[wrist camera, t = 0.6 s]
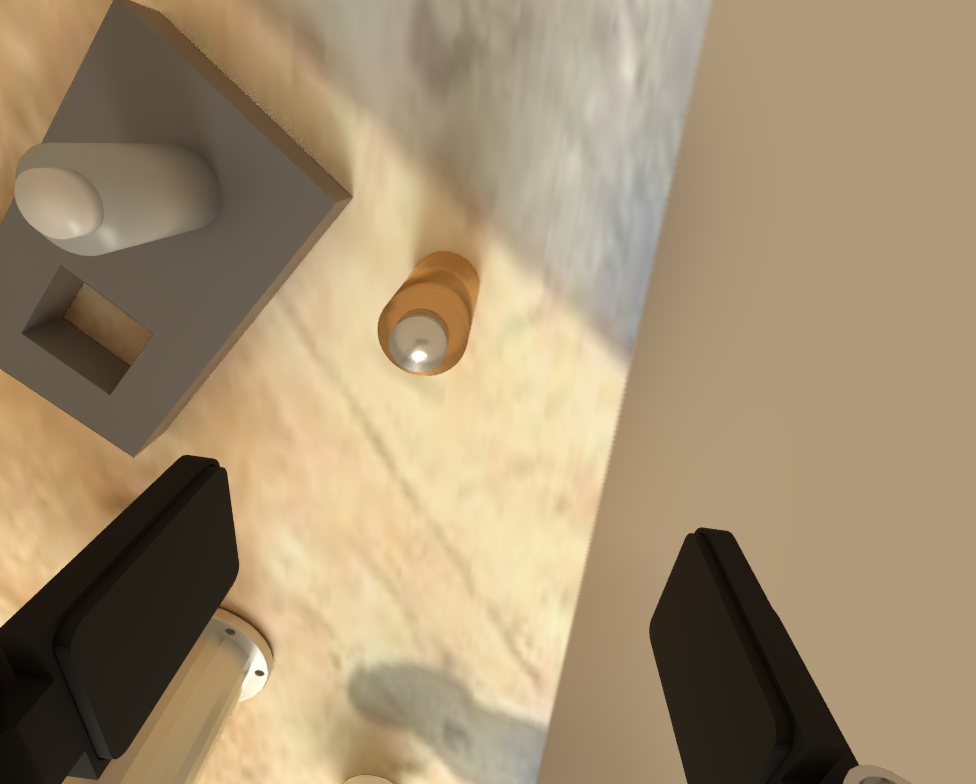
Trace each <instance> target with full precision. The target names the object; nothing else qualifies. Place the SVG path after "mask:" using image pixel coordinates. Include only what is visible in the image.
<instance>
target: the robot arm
mask: <svg viewBox="0 0 976 784" xmlns="http://www.w3.org/2000/svg"><path fill="white" fill-rule="evenodd" d="M238 570H239V559H238V551H237V544H236V536H235V529H234V521H233V514H232V506H231V499H230V491H229V484H228V476H227V471H226V469H225V468H223V467H220V465H219V462H218V461H217V460H216V459H212V458H205V457H198V456H191V455H184V456H182V457H180V458H179V459H178V460H177V461H176V462H175V463H174V464H173V465H172V466H170V467H169V468H168V469H167V470H166V471H165V472H164V473H163V474H162V475H161V476H160V477H159V478H158V479H157V480H156V481H155V482H154V483H153V484H151V485H150V486H149V487H148V488H147V489H146V490H145V491H144V492H143V493H142V494H141V495H140V496H139V497H138V498H137V499H136V500H135V501H134V502H133V503H131V504H130V505H129V506H128V507H127V508H126V509H125V510H124V511H123V512H122V513H121V514H120V515H119V516H118V517H117V518H116V519H115V520H114V521H112V522H111V523H110V524H109V525H108V526H107V527H106V528H105V529H104V530H103V531H102V532H101V533H100V534H99V535H98V536H97V537H96V538H95V539H94V540H92V541H91V542H90V543H89V544H88V545H87V546H86V547H85V548H84V549H83V550H82V551H81V552H80V553H79V554H78V555H77V556H76V557H75V558H73V559H72V560H71V561H70V562H69V563H68V564H67V565H66V566H65V567H64V568H63V569H62V570H61V571H60V572H59V573H58V574H57V575H56V576H55V577H53V578H52V579H51V580H50V581H49V582H48V583H47V584H46V585H45V586H44V587H43V588H42V589H41V590H40V591H39V592H38V593H37V594H36V595H34V596H33V597H32V598H31V599H30V600H29V601H28V602H27V603H26V604H25V605H24V606H23V607H22V608H21V609H20V610H19V611H18V612H17V613H16V614H14V615H13V616H12V617H11V618H10V619H9V620H8V621H7V622H6V623H5V624H4V625H3V626H2V627H1V628H0V784H198V782H199V780H200V778H201V776H202V774H203V771H204V769H205V767H206V765H207V763H208V761H209V759H210V757H211V755H212V753H213V751H214V749H215V747H216V745H217V743H218V741H219V739H220V737H221V735H222V733H223V731H224V729H225V727H226V725H227V723H228V721H229V719H230V717H231V715H232V713H233V711H234V709H235V707H236V704H237V702H240V701H243V700H246V699H249V698H251V697H252V696H254V695H256V694H257V693H259V692H260V691H261V690H262V689H263V688H264V686H265V684H266V682H267V681H268V678H269V676H270V674H271V671H272V668H273V658H272V654H271V650H270V648H269V646H268V645H267V643H266V641H265V640H264V638H263V637H262V636H261V635H260V633H259V632H258V631H257V630H256V629H254V628H253V627H252V626H251V625H250V624H249V623H247V622H246V621H244V620H243V619H241V618H239V617H238V616H236V615H234V614H232V613H230V612H228V611H226V610H223V609H220V608H218V607H219V605H220V604H221V602H222V601H223V599H224V598H225V596H226V594H227V593H228V591H229V590H230V588H231V587H232V585H233V583H234V582H235V580H236V577H237V574H238ZM649 634H650V641H651V645H652V649H653V652H654V657H655V660H656V664H657V668H658V672H659V676H660V679H661V683H662V687H663V691H664V695H665V699H666V703H667V706H668V710H669V714H670V718H671V721H672V726H673V729H674V733H675V737H676V741H677V745H678V749H679V752H680V756H681V760H682V764H683V768H684V772H685V776H686V779H687V783H688V784H911V783H910V782H908V781H907V780H905V779H903V778H902V777H900V776H898V775H897V774H895V773H893V772H892V771H889V770H886V769H883V768H880V767H878V766H874V765H859V764H858V762H857V760H856V759H855V757H854V755H853V753H852V751H851V749H850V747H849V746H848V744H847V742H846V740H845V738H844V736H843V735H842V733H841V731H840V729H839V727H838V725H837V723H836V722H835V720H834V718H833V716H832V714H831V712H830V711H829V709H828V707H827V705H826V703H825V701H824V700H823V698H822V696H821V694H820V692H819V690H818V689H817V686H816V685H815V683H814V681H813V679H812V677H811V675H810V674H809V672H808V670H807V668H806V666H805V664H804V662H803V660H802V659H801V657H800V655H799V653H798V651H797V649H796V648H795V646H794V644H793V642H792V640H791V638H790V636H789V635H788V633H787V631H786V629H785V627H784V625H783V624H782V622H781V620H780V618H779V616H778V615H777V614H776V612H775V611H774V610H773V608H772V606H771V605H770V603H769V601H768V599H767V597H766V595H765V593H764V591H763V590H762V588H761V586H760V584H759V582H758V580H757V579H756V577H755V575H754V573H753V571H752V569H751V567H750V565H749V564H748V562H747V560H746V558H745V556H744V554H743V553H742V550H741V549H740V547H739V545H738V543H737V541H736V539H735V538H734V536H733V535H732V533H730V532H729V531H724V530H717V529H710V528H698V529H697V530H696V531H695V533H694V534H693V533H689V534H688V535H687V536H686V538H685V540H684V543H683V545H682V547H681V550H680V552H679V555H678V557H677V560H676V562H675V564H674V566H673V569H672V571H671V574H670V576H669V578H668V581H667V583H666V586H665V588H664V590H663V593H662V595H661V598H660V600H659V603H658V605H657V607H656V610H655V612H654V614H653V617H652V619H651V622H650V629H649Z"/></svg>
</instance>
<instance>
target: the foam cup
mask: <svg viewBox="0 0 976 784" xmlns="http://www.w3.org/2000/svg"><path fill="white" fill-rule="evenodd" d="M344 784H393V783H392V782H390V781H388V780H387V779H385V778H381V777H377V776H373V775H359V776H355V777H352V778H349V779H348V780H347V781H346V782H345V783H344Z"/></svg>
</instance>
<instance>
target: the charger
mask: <svg viewBox="0 0 976 784" xmlns="http://www.w3.org/2000/svg"><path fill="white" fill-rule="evenodd" d="M14 195H15V197H14V199H13V201H12V203H11V205H10V207H9V209H8V211H7V213H6V215H5V217H4V219H3V221H2V223H1V225H0V369H2V370H3V371H5V372H6V373H8V374H9V375H11V376H12V377H14V378H15V379H17V380H18V381H20V382H21V383H23V384H24V385H26V386H27V387H29V388H30V389H32V390H33V391H35V392H36V393H38V394H39V395H41V396H42V397H44V398H45V399H47V400H48V401H50V402H51V403H53V404H54V405H56V406H57V407H59V408H60V409H62V410H63V411H65V412H66V413H68V414H69V415H71V416H72V417H74V418H75V419H77V420H78V421H80V422H81V423H83V424H84V425H86V426H87V427H89V428H90V429H92V430H93V431H95V432H96V433H98V434H99V435H101V436H102V437H104V438H105V439H107V440H108V441H110V442H111V443H113V444H114V445H116V446H117V447H119V448H120V449H122V450H123V451H125V452H126V453H128V454H129V455H131V456H132V457H135V456H136V455H137V454H139V453H140V452H141V451H142V450H143V449H145V448H146V447H147V446H148V445H149V444H151V443H152V442H153V441H154V440H156V439H157V438H158V437H159V436H160V435H162V434H163V432H164V431H165V430H166V429H167V428H168V426H169V425H170V424H171V423H172V421H173V420H174V419H175V418H176V416H177V415H178V414H179V413H180V411H181V410H182V409H183V408H184V406H185V405H186V404H187V403H188V401H189V400H190V399H191V398H192V397H193V395H194V394H195V393H196V392H197V390H198V389H199V388H200V387H201V385H202V384H203V383H204V382H205V380H206V379H207V378H208V377H209V375H210V374H211V373H212V372H213V370H214V369H215V368H216V367H217V366H218V364H219V363H220V362H221V361H222V359H223V358H224V357H225V356H226V354H227V353H228V352H229V351H230V349H231V348H232V347H233V346H234V344H235V343H236V342H237V341H238V339H239V338H240V337H241V336H242V335H243V333H244V332H245V331H246V330H247V328H248V327H249V326H250V325H251V323H252V322H253V321H254V320H255V318H256V317H257V316H258V315H259V313H260V312H261V311H262V310H263V308H264V307H265V306H266V305H267V303H268V302H269V301H270V300H271V299H272V297H273V296H274V295H275V294H276V292H277V291H278V290H279V289H280V287H281V286H282V285H283V284H284V282H285V281H286V280H287V279H288V277H289V276H290V275H291V274H292V272H293V271H294V270H295V269H296V268H297V266H298V265H299V264H300V263H301V261H302V260H303V259H304V258H305V256H306V255H307V254H308V253H309V251H310V250H311V249H312V248H313V246H314V245H315V244H316V243H317V241H318V240H319V239H320V238H321V237H322V235H323V234H324V233H325V232H326V230H327V229H328V228H329V227H330V225H331V224H332V223H333V222H334V220H335V219H336V218H337V217H338V215H339V214H340V213H341V212H342V210H343V209H344V208H345V207H346V206H347V204H348V203H349V202H350V201H351V199H352V198H353V197H352V196H351V195H350V194H349V193H348V192H347V191H346V190H345V189H344V188H343V187H342V186H341V185H340V184H339V183H338V182H337V181H335V180H334V179H333V178H332V177H331V176H330V175H329V174H328V173H327V172H326V171H325V170H324V169H323V168H322V167H321V166H320V165H319V164H318V163H317V162H316V161H315V160H314V159H313V158H311V157H310V156H309V155H308V154H307V153H306V152H305V151H304V150H303V149H302V148H301V147H300V146H299V145H298V144H297V143H296V142H295V141H294V140H293V139H292V138H291V137H290V136H289V135H288V134H286V133H285V132H284V131H283V130H282V129H281V128H280V127H279V126H278V125H277V124H276V123H275V122H274V121H273V120H272V119H271V118H270V117H269V116H268V115H267V114H266V113H265V112H264V111H262V110H261V109H260V108H259V107H258V106H257V105H256V104H255V103H254V102H253V101H252V100H251V99H250V98H249V97H248V96H247V95H246V94H245V93H244V92H243V91H242V90H241V89H240V88H238V87H237V86H236V85H235V84H234V83H233V82H232V81H231V80H230V79H229V78H228V77H227V76H226V75H225V74H224V73H223V72H222V71H221V70H220V69H219V68H218V67H217V66H216V65H214V64H213V63H212V62H211V61H210V60H209V59H208V58H207V57H206V56H205V55H204V54H203V53H202V52H201V51H200V50H199V49H198V48H197V47H196V46H195V45H194V44H193V43H192V42H190V41H189V40H188V39H187V38H186V37H185V36H184V35H183V34H182V33H181V32H180V31H179V30H178V29H177V28H176V27H175V26H174V25H173V24H172V23H171V22H170V21H169V20H168V19H166V18H165V17H164V16H163V15H162V14H161V13H160V12H159V11H156V10H153V9H151V8H148V7H146V6H143V5H140V4H138V3H135V2H132V1H130V0H113V2H112V4H111V6H110V8H109V10H108V12H107V14H106V16H105V18H104V20H103V22H102V24H101V26H100V28H99V30H98V32H97V34H96V36H95V38H94V40H93V42H92V44H91V46H90V48H89V50H88V52H87V54H86V56H85V58H84V60H83V62H82V64H81V66H80V68H79V70H78V72H77V74H76V76H75V78H74V80H73V82H72V84H71V86H70V88H69V90H68V92H67V94H66V96H65V98H64V100H63V102H62V104H61V106H60V108H59V110H58V111H57V113H56V115H55V117H54V119H53V121H52V123H51V125H50V127H49V129H48V131H47V133H46V135H45V137H44V139H43V141H42V143H41V144H39V145H36V146H34V147H32V148H30V149H29V150H28V151H26V153H25V154H24V155H23V156H22V158H21V159H20V161H19V163H18V166H17V170H16V182H15V186H14ZM84 282H85V283H86V284H87V285H89V286H90V287H91V288H93V289H94V290H95V291H97V292H98V293H99V294H101V295H102V296H103V297H105V298H106V299H107V300H109V301H110V302H111V303H113V304H114V305H115V306H117V307H118V308H119V309H121V310H122V311H123V312H125V313H126V314H127V315H128V316H130V317H131V318H132V319H134V320H135V321H136V322H138V323H139V324H140V325H142V326H143V327H144V328H146V329H147V330H148V331H150V332H151V333H152V334H154V335H153V336H152V338H151V339H150V340H149V342H148V343H147V345H146V346H145V347H144V349H143V350H142V351H141V353H140V354H139V356H138V357H137V358H136V360H135V361H134V363H133V364H132V365H131V367H130V366H129V365H128V364H126V363H125V362H124V361H122V360H121V359H119V358H118V357H117V356H115V355H114V354H112V353H111V352H110V351H108V350H107V349H106V348H104V347H103V346H101V345H100V344H99V343H97V342H96V341H94V340H93V339H92V338H90V337H89V336H88V335H86V334H85V333H83V332H82V331H81V330H79V329H78V328H76V327H75V326H74V325H72V324H71V323H70V322H68V321H67V320H65V319H64V318H63V316H64V314H65V312H66V311H67V309H68V308H69V306H70V304H71V303H72V301H73V299H74V298H75V296H76V295H77V293H78V291H79V290H80V288H81V286H82V285H83V283H84Z"/></svg>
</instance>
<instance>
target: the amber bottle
mask: <svg viewBox="0 0 976 784" xmlns="http://www.w3.org/2000/svg"><path fill="white" fill-rule="evenodd" d="M478 293H479V280H478V276H477V273H476V271H475V269H474V268H473V266H472V265H471V264H470V263H469V262H468V261H467V260H466V259H465V258H463V257H462V256H460V255H458V254H455V253H451V252H437V253H434V254H431V255H429V256H427V257H426V258H424V259H423V260H422V261H421V262H420V263H419V264H418V266H417V267H416V268H415V269H414V271H413V272H412V273H411V275H410V276H409V277H408V278H407V280H406V281H405V282H404V283H403V285H402V286H401V287H400V288H399V290H398V291H397V292H396V294H395V295H394V296H393V297H392V299H391V300H390V301H389V302H388V304H387V305H386V306H385V307H384V309H383V311H382V313H381V315H380V318H379V322H378V338H379V342H380V345H381V347H382V349H383V351H384V353H385V355H386V356H387V357H388V358H389V360H390V361H391V362H392V363H393V364H395V365H396V366H397V367H399V368H400V369H402V370H404V371H406V372H408V373H411V374H414V375H420V376H432V375H437V374H441V373H443V372H445V371H447V370H449V369H451V368H452V367H453V366H455V365H456V364H457V363H458V361H459V360H460V359H461V357H462V356H463V354H464V352H465V349H466V346H467V342H468V338H469V333H470V329H471V324H472V320H473V315H474V311H475V307H476V302H477V298H478Z"/></svg>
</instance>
